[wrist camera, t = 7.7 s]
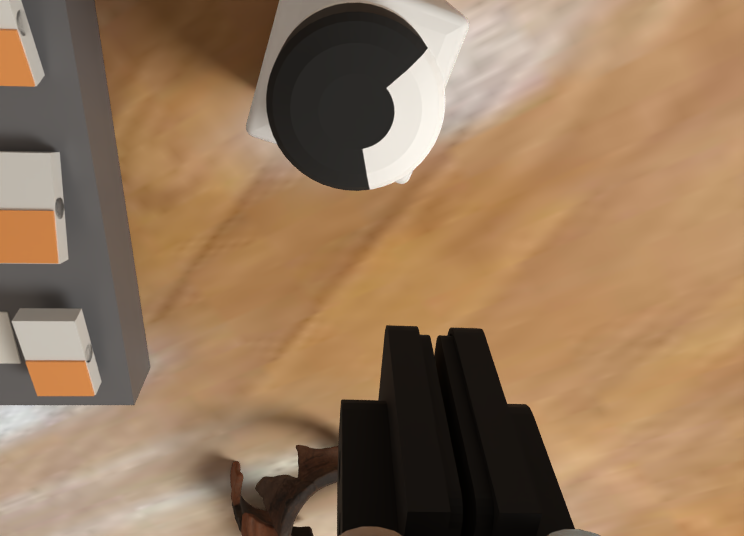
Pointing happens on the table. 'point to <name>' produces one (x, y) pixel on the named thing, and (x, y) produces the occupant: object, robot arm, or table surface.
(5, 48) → the rocker
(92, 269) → the power strip
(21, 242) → the rocker
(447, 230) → the table surface
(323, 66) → the medicine bottle
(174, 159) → the table surface
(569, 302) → the table surface
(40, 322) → the rocker
